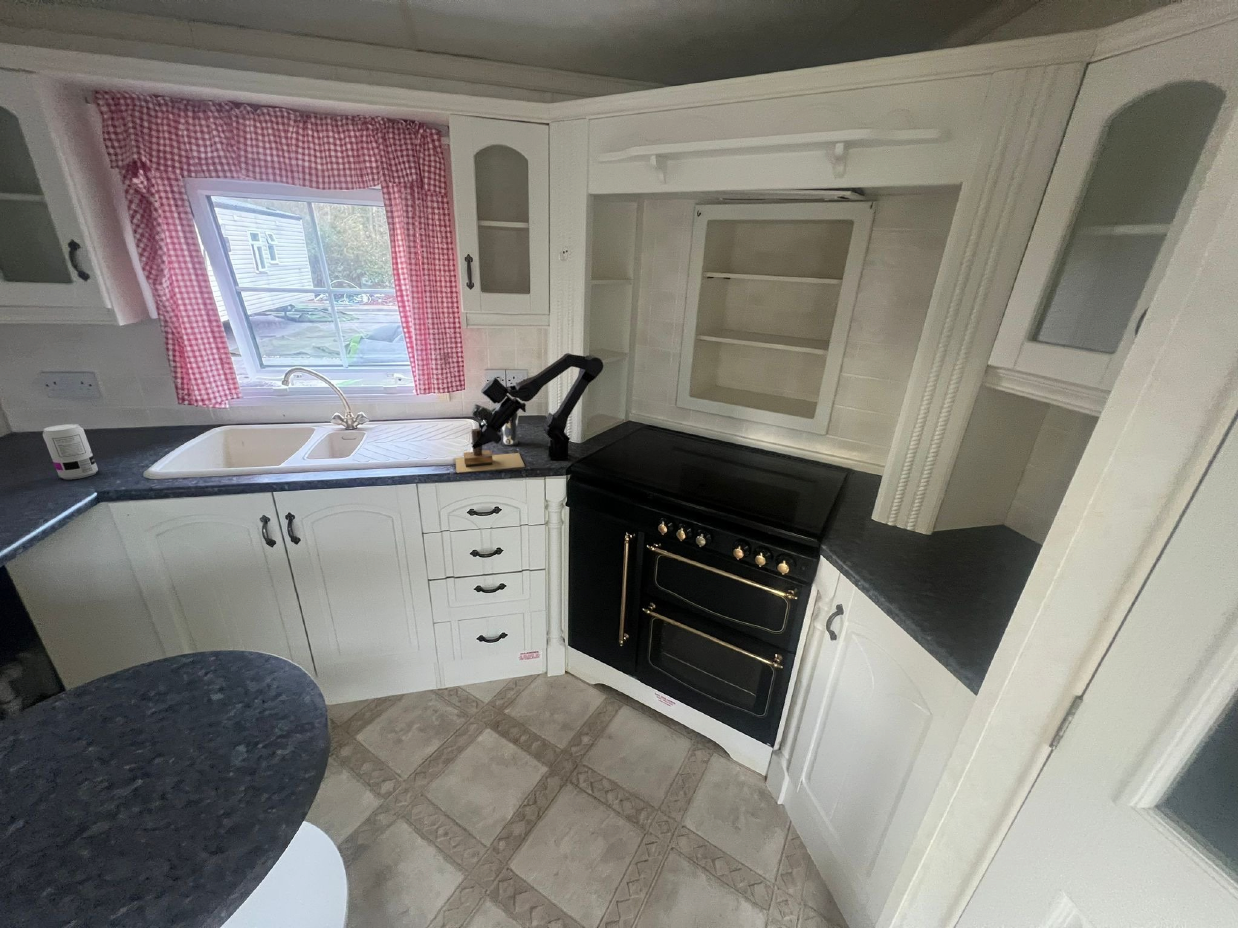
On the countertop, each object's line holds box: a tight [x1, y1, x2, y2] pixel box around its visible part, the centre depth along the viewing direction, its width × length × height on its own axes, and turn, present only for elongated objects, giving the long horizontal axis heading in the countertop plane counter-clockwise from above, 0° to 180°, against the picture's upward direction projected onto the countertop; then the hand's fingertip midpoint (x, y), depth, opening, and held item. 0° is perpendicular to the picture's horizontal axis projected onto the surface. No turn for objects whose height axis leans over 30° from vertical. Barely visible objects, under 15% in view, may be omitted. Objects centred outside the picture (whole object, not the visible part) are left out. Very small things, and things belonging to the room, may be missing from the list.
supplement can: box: [42, 423, 99, 480], centre depth 146 cm, size 8×8×15 cm
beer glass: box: [501, 410, 519, 447], centre depth 187 cm, size 7×7×15 cm
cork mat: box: [454, 452, 526, 474], centre depth 169 cm, size 22×14×1 cm, turn 109°
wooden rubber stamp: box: [463, 428, 493, 467], centre depth 166 cm, size 9×6×12 cm, turn 109°
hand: (472, 446), depth 165 cm, fingers closed on wooden rubber stamp, 3 cm apart
